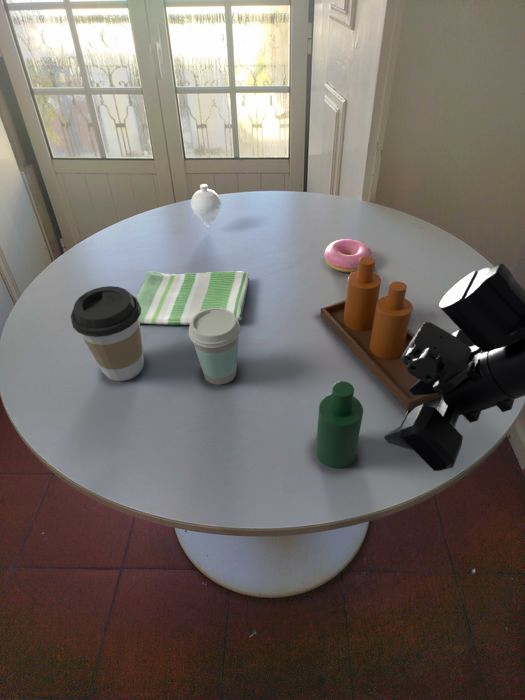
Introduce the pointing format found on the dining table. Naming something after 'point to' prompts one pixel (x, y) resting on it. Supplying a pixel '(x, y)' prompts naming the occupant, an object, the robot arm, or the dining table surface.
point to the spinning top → (206, 204)
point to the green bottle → (338, 426)
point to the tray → (377, 358)
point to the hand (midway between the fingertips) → (399, 414)
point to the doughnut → (346, 254)
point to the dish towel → (190, 295)
